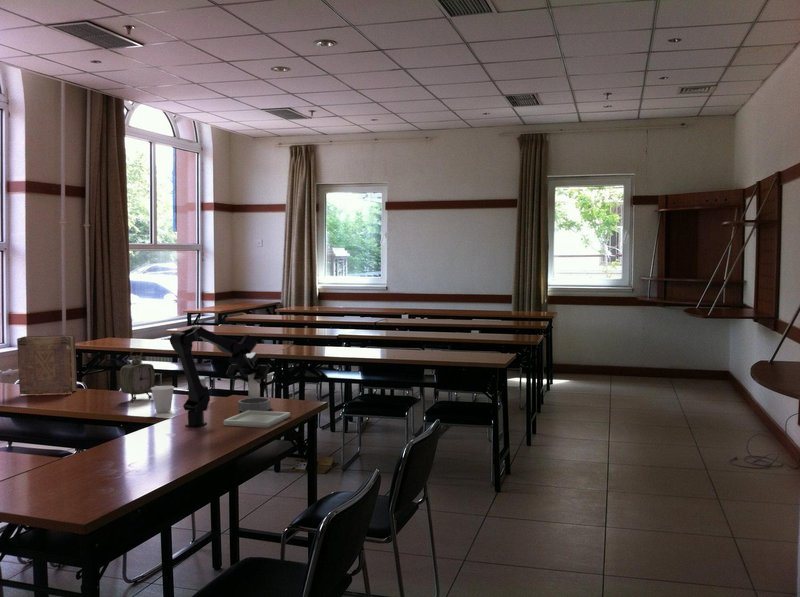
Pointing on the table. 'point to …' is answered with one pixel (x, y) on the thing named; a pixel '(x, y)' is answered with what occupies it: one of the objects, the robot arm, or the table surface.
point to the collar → (254, 404)
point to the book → (47, 364)
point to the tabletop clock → (137, 377)
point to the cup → (162, 398)
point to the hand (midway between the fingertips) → (254, 382)
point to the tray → (257, 418)
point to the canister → (253, 387)
